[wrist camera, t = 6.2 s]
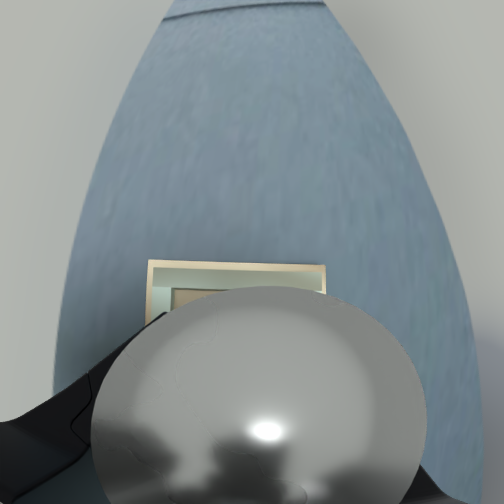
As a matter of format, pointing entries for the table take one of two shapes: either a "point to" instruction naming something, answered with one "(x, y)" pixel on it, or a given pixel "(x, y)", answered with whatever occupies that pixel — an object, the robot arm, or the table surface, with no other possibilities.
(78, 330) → the table surface
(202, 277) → the tray
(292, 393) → the grey cylindrical piece
